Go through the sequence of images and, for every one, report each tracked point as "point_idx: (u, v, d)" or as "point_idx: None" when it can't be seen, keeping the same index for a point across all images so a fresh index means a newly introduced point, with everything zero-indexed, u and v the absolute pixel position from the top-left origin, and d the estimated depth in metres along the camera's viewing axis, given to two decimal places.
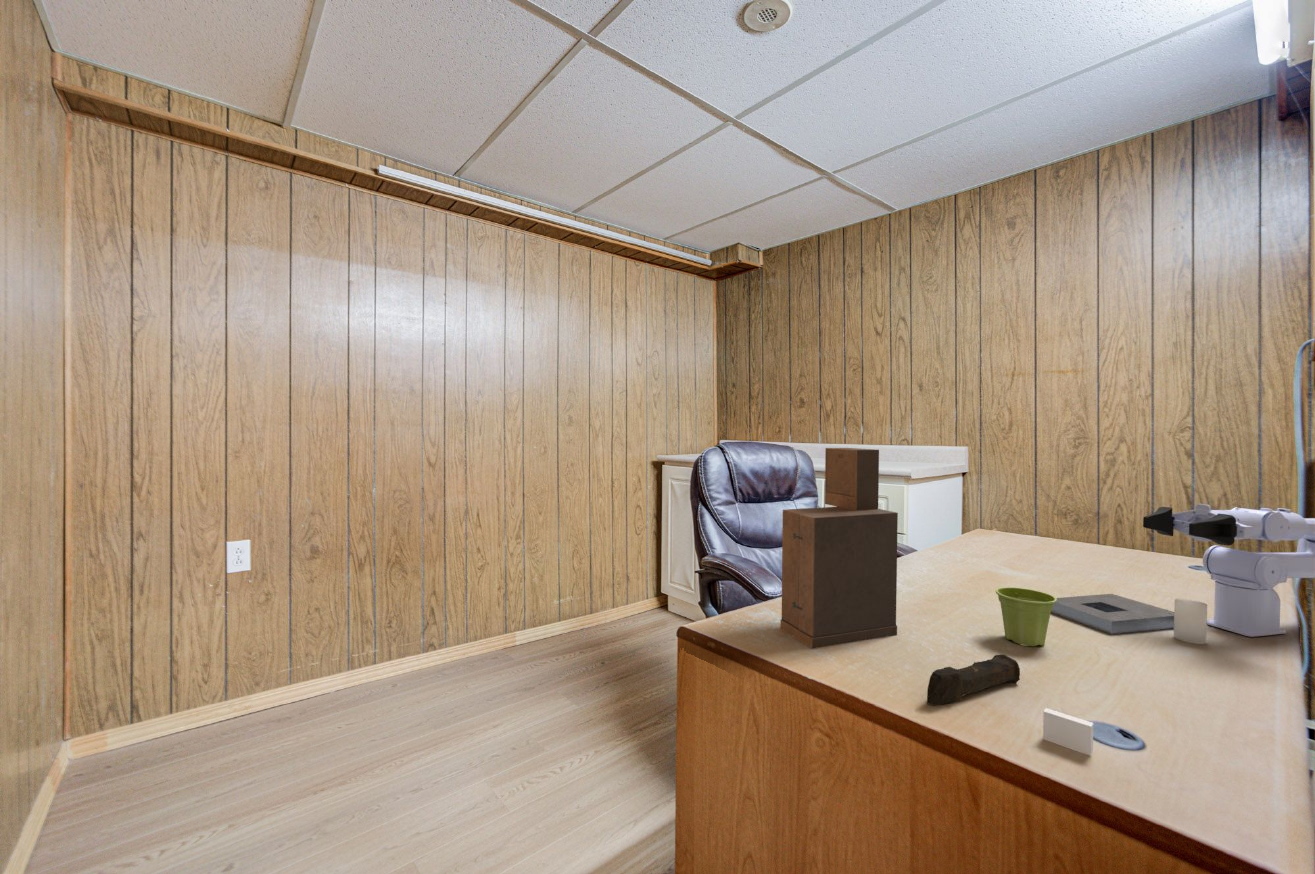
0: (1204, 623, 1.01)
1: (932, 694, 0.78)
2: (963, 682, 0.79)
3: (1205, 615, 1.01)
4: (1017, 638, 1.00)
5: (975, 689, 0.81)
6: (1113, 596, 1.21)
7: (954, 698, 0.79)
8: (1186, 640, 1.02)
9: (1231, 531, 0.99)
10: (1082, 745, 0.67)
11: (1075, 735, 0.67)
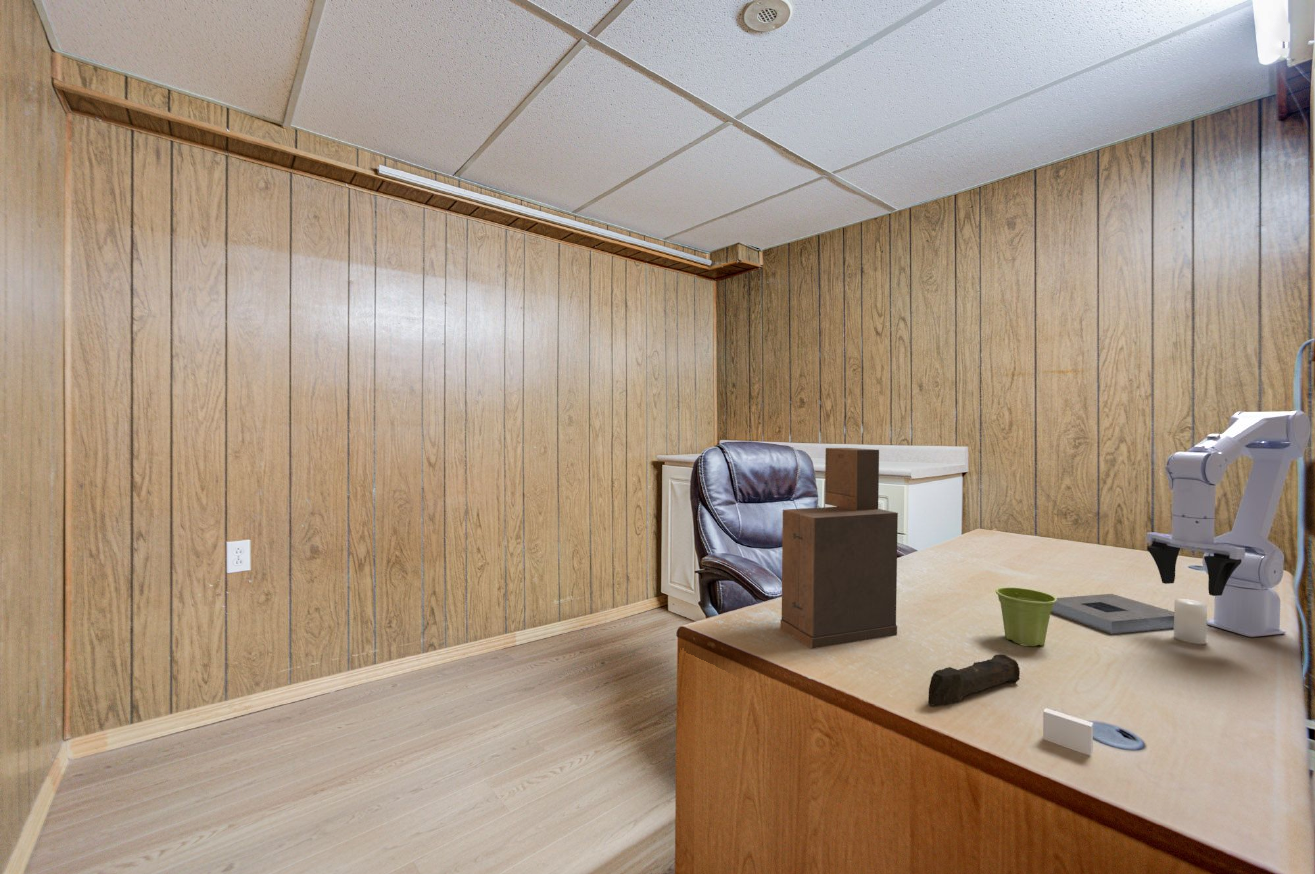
0: (1204, 623, 1.01)
1: (934, 695, 0.78)
2: (963, 682, 0.79)
3: (1205, 615, 1.01)
4: (1017, 638, 1.00)
5: (976, 689, 0.81)
6: (1113, 596, 1.21)
7: (955, 699, 0.79)
8: (1186, 640, 1.02)
9: (1231, 562, 0.97)
10: (1082, 745, 0.67)
11: (1075, 735, 0.67)
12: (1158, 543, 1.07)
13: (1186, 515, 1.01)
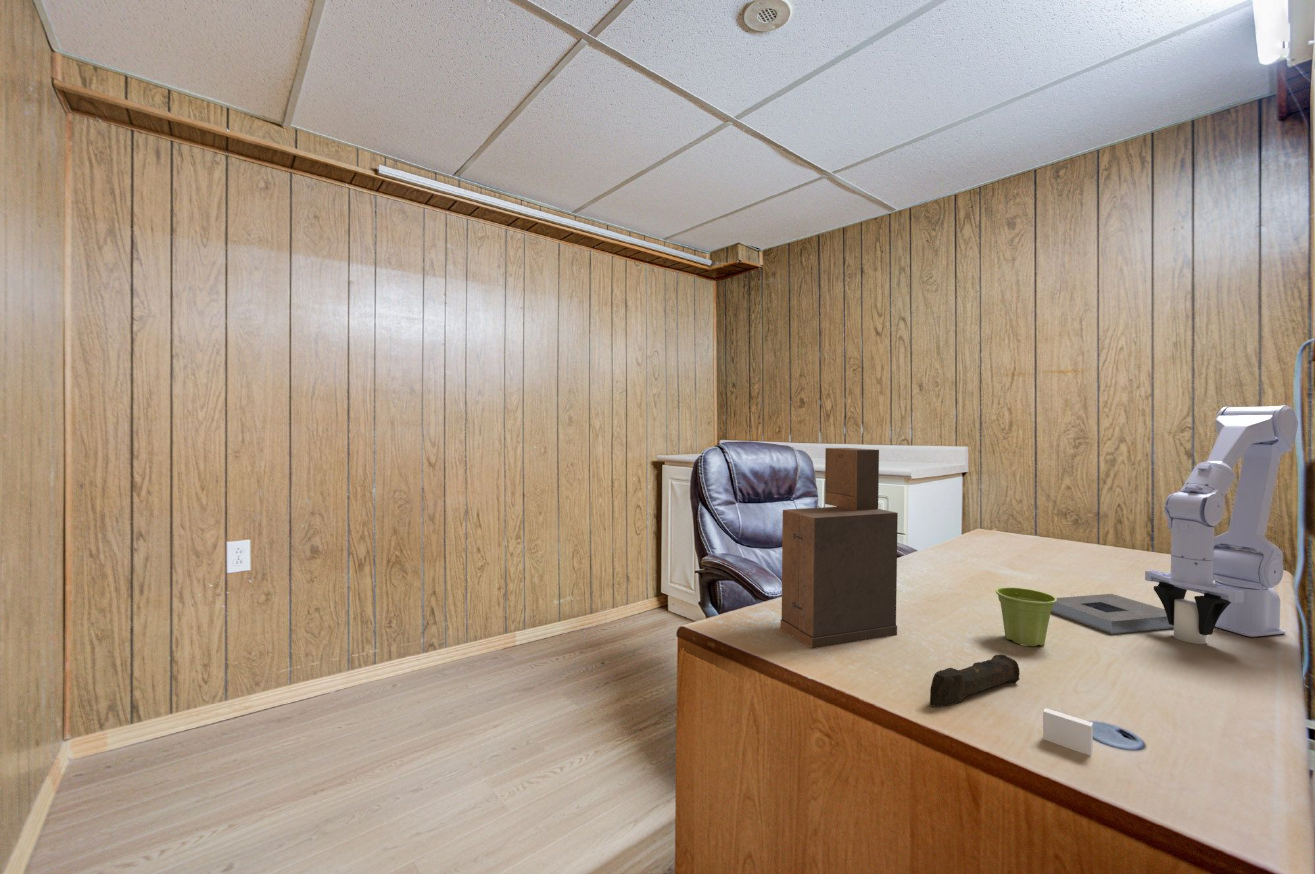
0: None
1: (935, 696, 0.77)
2: (965, 683, 0.79)
3: None
4: (1017, 638, 1.00)
5: (976, 690, 0.81)
6: (1113, 596, 1.21)
7: (956, 699, 0.79)
8: (1186, 640, 1.02)
9: (1221, 602, 0.98)
10: (1081, 745, 0.67)
11: (1075, 735, 0.67)
12: None
13: (1185, 556, 1.01)
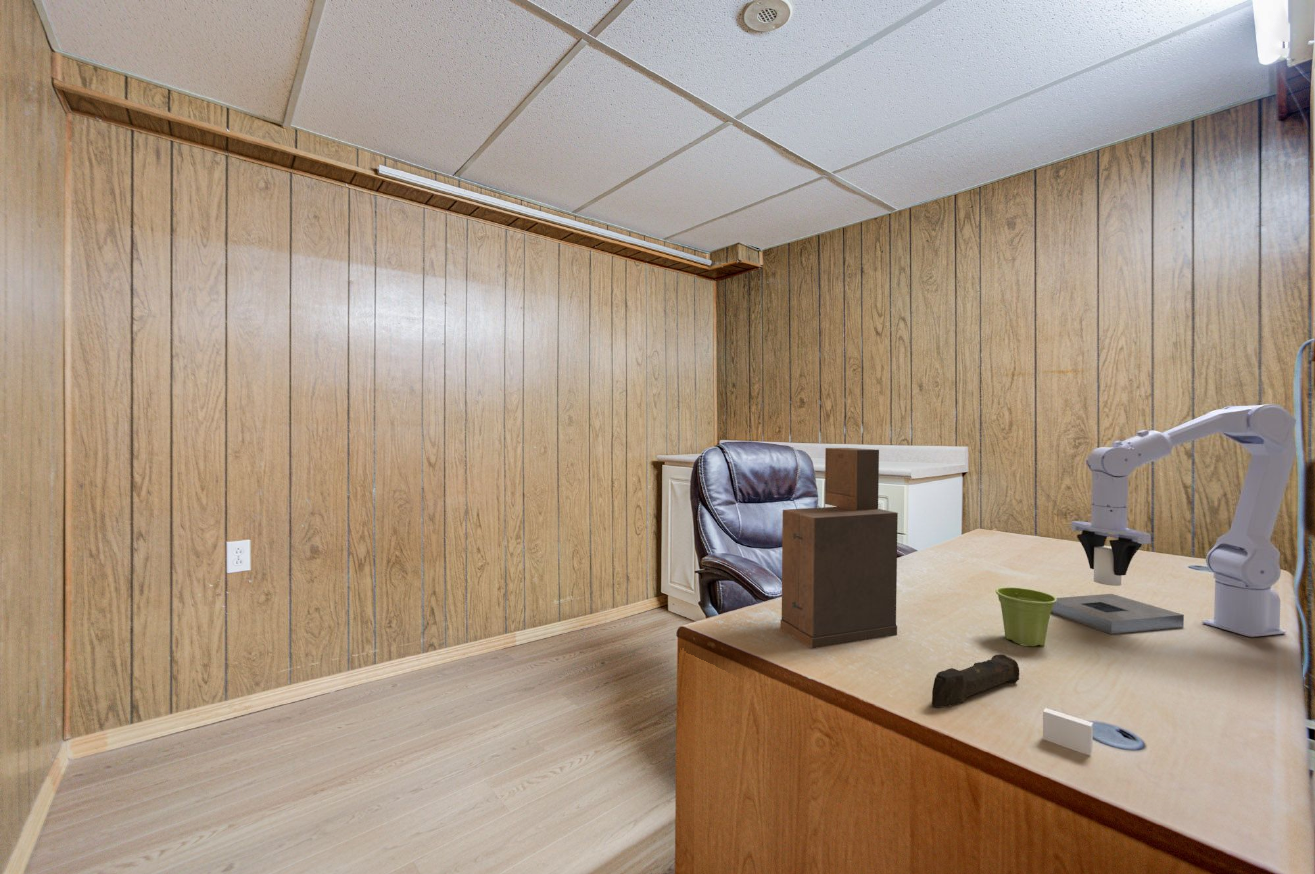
0: None
1: (937, 697, 0.77)
2: (966, 683, 0.79)
3: None
4: (1017, 638, 1.00)
5: (978, 690, 0.80)
6: (1113, 596, 1.21)
7: (958, 700, 0.78)
8: (1102, 582, 1.12)
9: (1132, 545, 1.08)
10: (1081, 745, 0.67)
11: (1075, 735, 0.67)
12: (1081, 530, 1.18)
13: (1094, 503, 1.13)
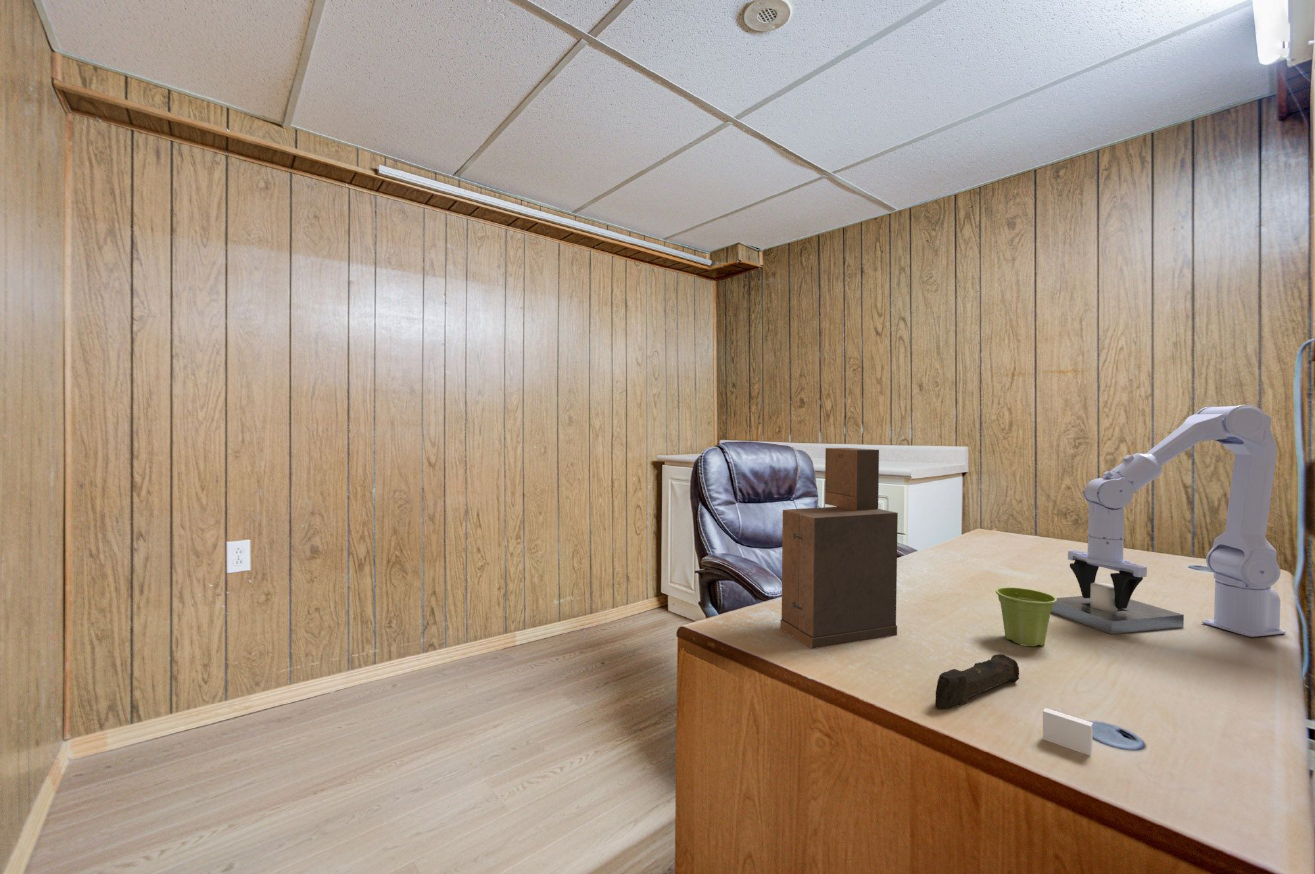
0: None
1: (940, 698, 0.77)
2: (969, 684, 0.79)
3: None
4: (1017, 638, 1.00)
5: (979, 691, 0.80)
6: None
7: (961, 701, 0.78)
8: None
9: (1133, 578, 1.08)
10: (1081, 745, 0.67)
11: (1074, 735, 0.67)
12: (1077, 560, 1.18)
13: (1090, 535, 1.13)
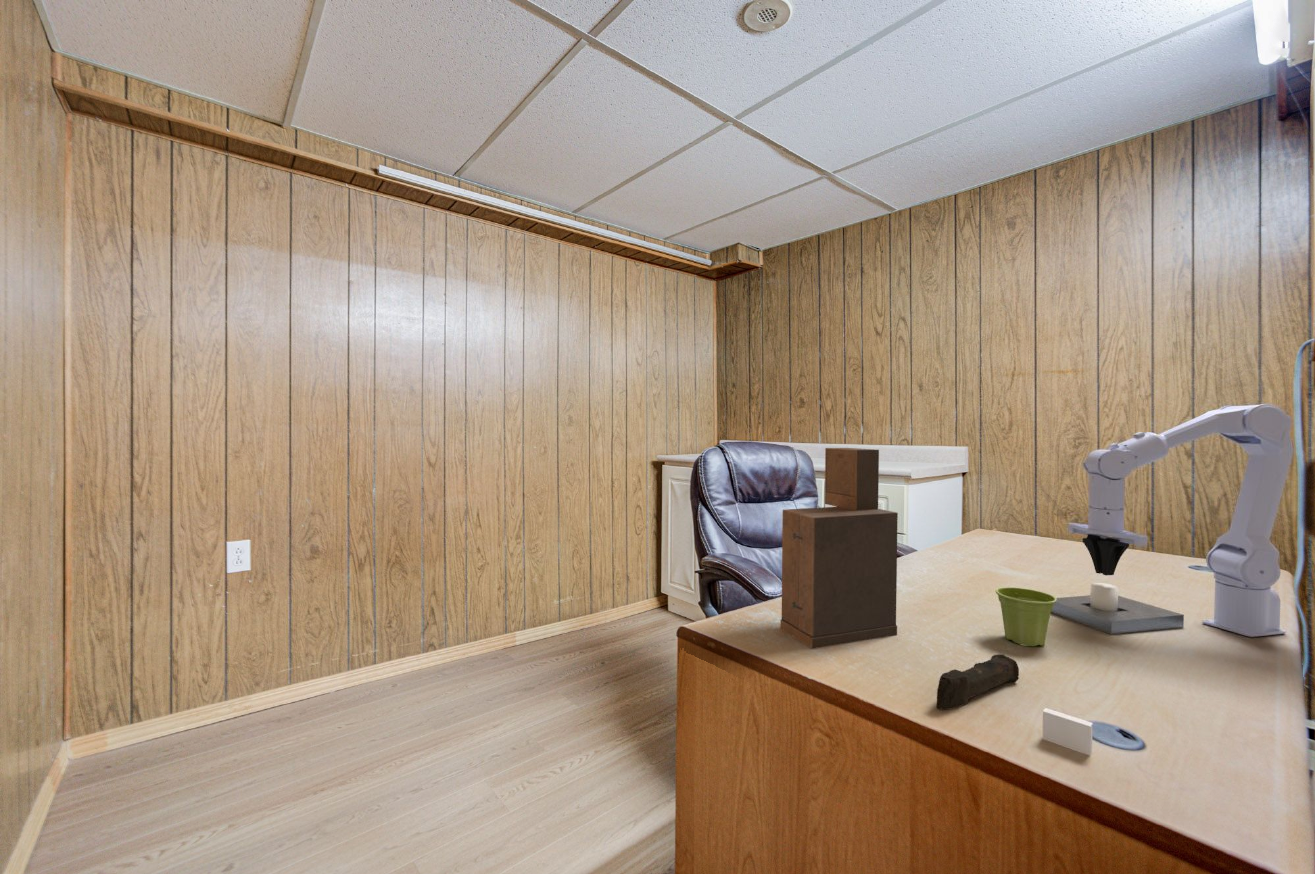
0: (1115, 604, 1.11)
1: (942, 699, 0.77)
2: (969, 685, 0.79)
3: (1115, 597, 1.11)
4: (1017, 638, 1.00)
5: (980, 691, 0.80)
6: None
7: (962, 701, 0.78)
8: None
9: (1119, 545, 1.11)
10: (1081, 745, 0.67)
11: (1074, 735, 0.67)
12: None
13: (1091, 506, 1.13)
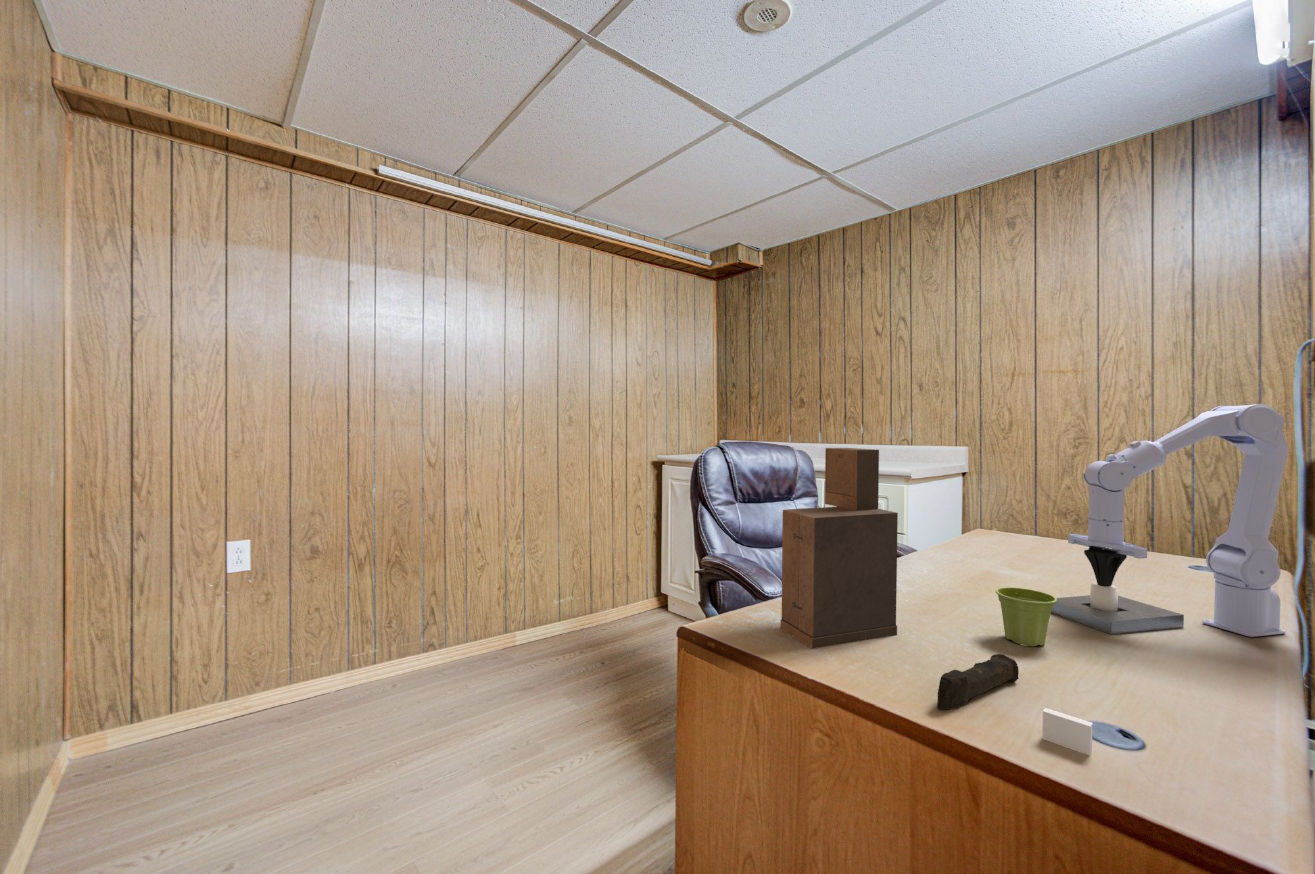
0: (1115, 604, 1.11)
1: (943, 699, 0.76)
2: (970, 685, 0.79)
3: (1115, 597, 1.11)
4: (1017, 638, 1.00)
5: (980, 691, 0.80)
6: None
7: (962, 702, 0.78)
8: None
9: (1117, 556, 1.11)
10: (1081, 745, 0.67)
11: (1074, 735, 0.67)
12: (1078, 544, 1.18)
13: (1091, 517, 1.13)
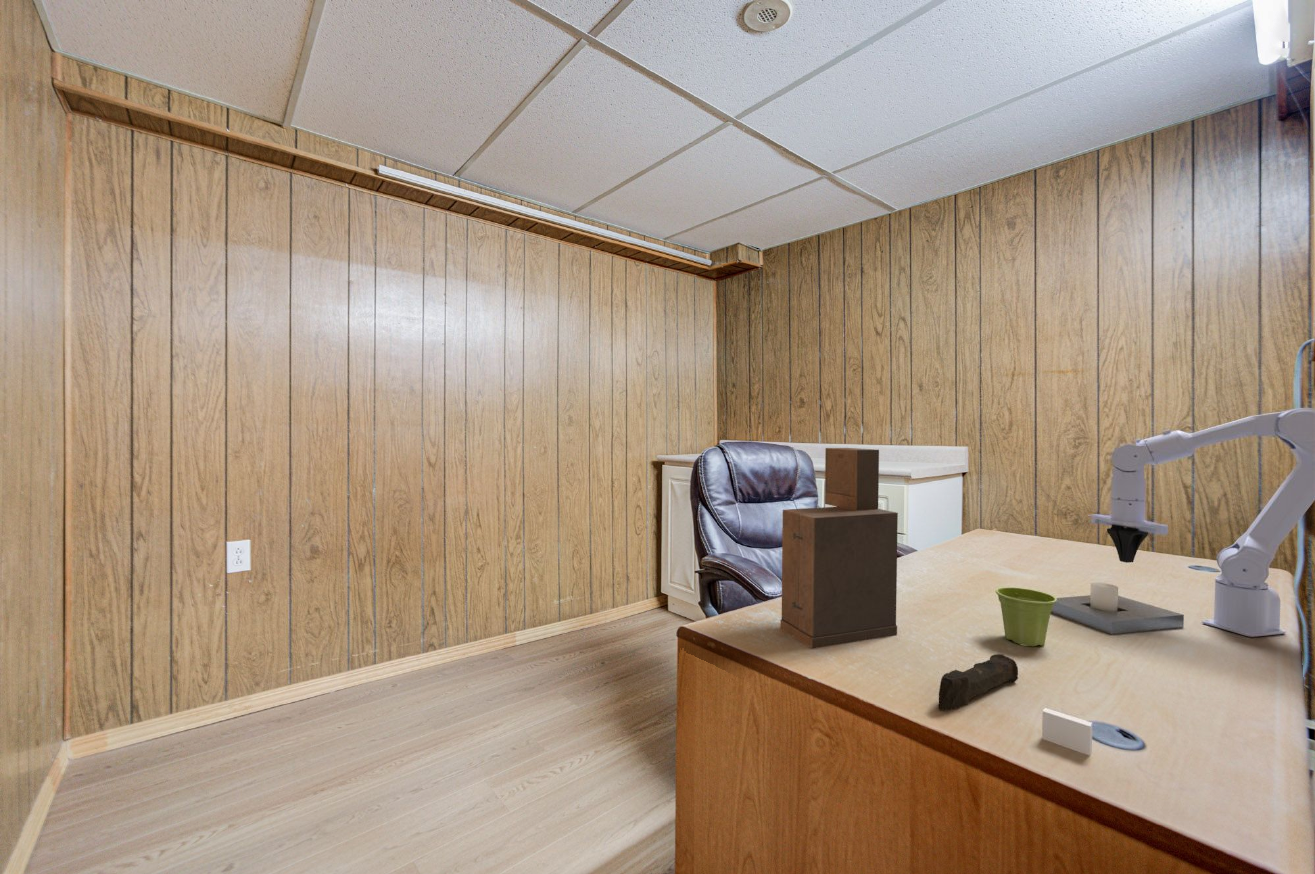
0: (1115, 604, 1.11)
1: (944, 700, 0.76)
2: (970, 685, 0.79)
3: (1115, 597, 1.11)
4: (1017, 638, 1.00)
5: (981, 691, 0.80)
6: None
7: (963, 702, 0.78)
8: None
9: (1139, 534, 1.17)
10: (1081, 745, 0.67)
11: (1074, 735, 0.67)
12: (1100, 523, 1.24)
13: (1111, 496, 1.21)
